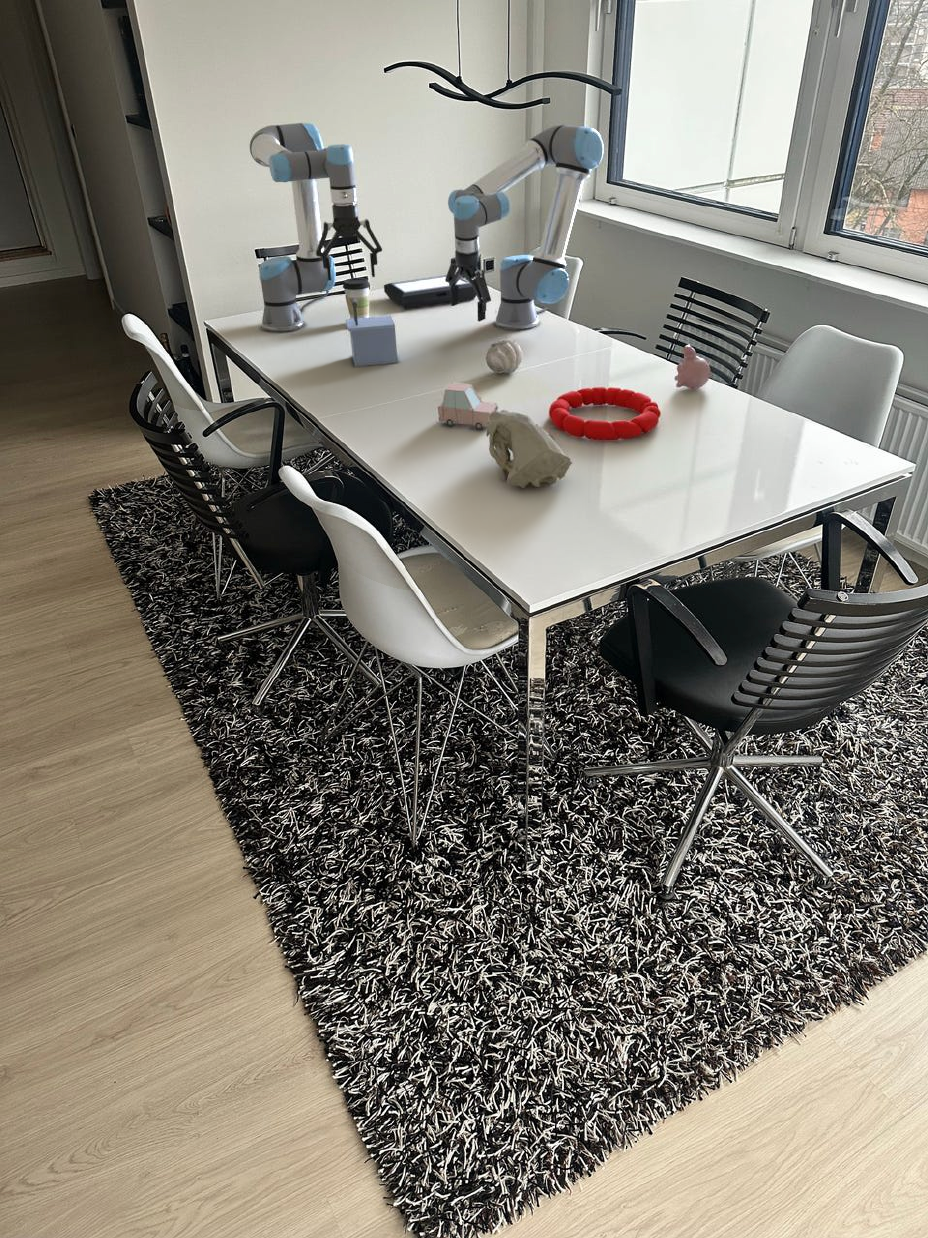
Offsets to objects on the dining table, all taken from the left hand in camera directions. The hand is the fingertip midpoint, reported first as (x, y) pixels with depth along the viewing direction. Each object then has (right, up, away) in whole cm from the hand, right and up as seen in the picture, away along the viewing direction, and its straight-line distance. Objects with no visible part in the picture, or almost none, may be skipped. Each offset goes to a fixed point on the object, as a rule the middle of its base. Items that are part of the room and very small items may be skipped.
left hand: (351, 277), depth 277 cm
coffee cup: (-3, +2, +50) cm, 50 cm away
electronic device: (+22, +19, +73) cm, 79 cm away
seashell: (+48, -29, +1) cm, 56 cm away
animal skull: (+49, -70, -57) cm, 103 cm away
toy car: (+36, -52, -32) cm, 71 cm away
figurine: (+102, -38, -15) cm, 110 cm away
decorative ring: (+73, -52, -34) cm, 96 cm away
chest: (+6, -21, +16) cm, 27 cm away
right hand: (+36, -4, +18) cm, 41 cm away
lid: (+5, -12, +9) cm, 16 cm away
